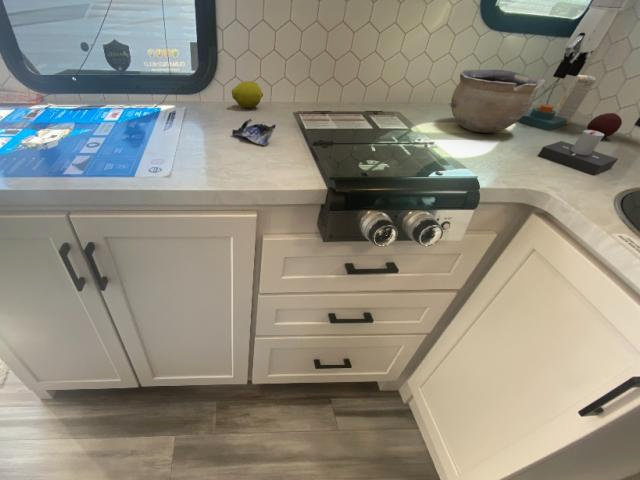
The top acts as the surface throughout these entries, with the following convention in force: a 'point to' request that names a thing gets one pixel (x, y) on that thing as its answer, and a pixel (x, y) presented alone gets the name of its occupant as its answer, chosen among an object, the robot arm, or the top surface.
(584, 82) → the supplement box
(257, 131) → the snack package
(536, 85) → the ceramic bowl
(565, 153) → the dial base
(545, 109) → the button
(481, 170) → the top surface
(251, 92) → the lemon
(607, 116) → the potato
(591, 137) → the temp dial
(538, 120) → the block
